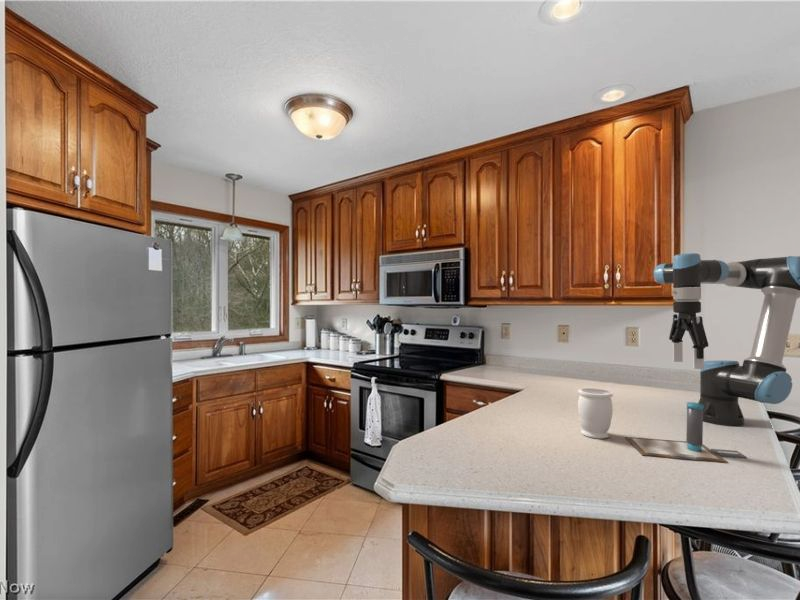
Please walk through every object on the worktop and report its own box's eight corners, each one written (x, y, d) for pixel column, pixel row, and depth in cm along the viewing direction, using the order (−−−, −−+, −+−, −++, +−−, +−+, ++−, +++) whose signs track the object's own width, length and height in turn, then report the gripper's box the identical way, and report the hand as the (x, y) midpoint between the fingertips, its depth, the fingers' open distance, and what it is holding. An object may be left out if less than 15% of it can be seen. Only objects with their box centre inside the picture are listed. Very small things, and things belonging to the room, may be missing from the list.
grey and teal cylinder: (698, 447, 128) (699, 402, 128) (705, 452, 123) (706, 406, 123) (683, 446, 128) (684, 401, 128) (689, 451, 124) (690, 405, 124)
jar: (576, 436, 138) (577, 392, 138) (578, 428, 147) (579, 386, 147) (612, 442, 133) (612, 396, 133) (612, 433, 142) (612, 390, 142)
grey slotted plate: (737, 452, 126) (737, 450, 126) (746, 458, 121) (746, 456, 121) (710, 450, 127) (710, 448, 127) (719, 456, 122) (719, 454, 122)
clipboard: (700, 443, 133) (700, 441, 133) (728, 463, 117) (728, 460, 117) (625, 437, 138) (625, 435, 138) (642, 455, 122) (642, 453, 122)
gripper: (657, 300, 148) (658, 358, 149) (693, 301, 124) (694, 372, 124) (680, 299, 147) (681, 359, 147) (721, 301, 123) (722, 372, 123)
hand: (687, 365), depth 136 cm, fingers open, 13 cm apart
